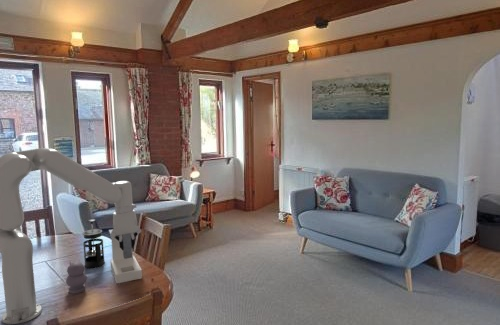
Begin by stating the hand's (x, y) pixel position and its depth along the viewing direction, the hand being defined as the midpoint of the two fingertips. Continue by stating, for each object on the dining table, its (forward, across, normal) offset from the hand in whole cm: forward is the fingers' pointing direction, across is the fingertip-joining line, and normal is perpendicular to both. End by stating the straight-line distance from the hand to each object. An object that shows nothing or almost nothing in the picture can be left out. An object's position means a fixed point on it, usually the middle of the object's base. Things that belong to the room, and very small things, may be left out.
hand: (127, 247), depth 165 cm
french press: (+14, +13, -22) cm, 29 cm away
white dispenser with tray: (+14, +1, -6) cm, 15 cm away
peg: (+4, 0, 0) cm, 4 cm away
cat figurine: (+14, +22, +2) cm, 26 cm away
